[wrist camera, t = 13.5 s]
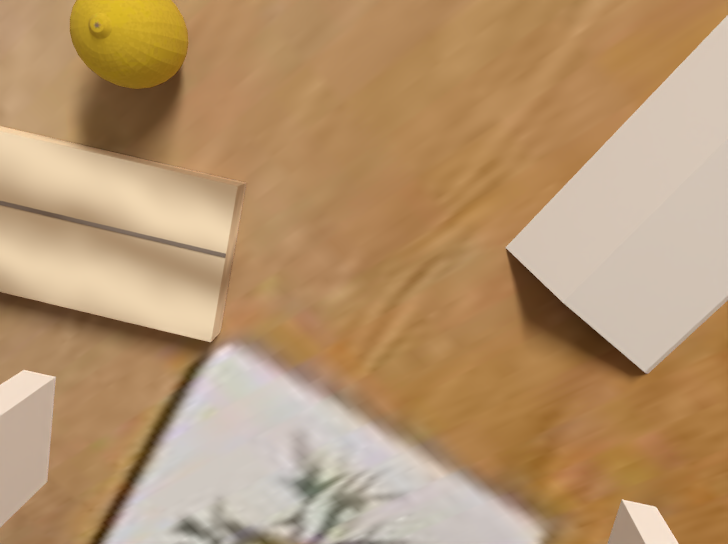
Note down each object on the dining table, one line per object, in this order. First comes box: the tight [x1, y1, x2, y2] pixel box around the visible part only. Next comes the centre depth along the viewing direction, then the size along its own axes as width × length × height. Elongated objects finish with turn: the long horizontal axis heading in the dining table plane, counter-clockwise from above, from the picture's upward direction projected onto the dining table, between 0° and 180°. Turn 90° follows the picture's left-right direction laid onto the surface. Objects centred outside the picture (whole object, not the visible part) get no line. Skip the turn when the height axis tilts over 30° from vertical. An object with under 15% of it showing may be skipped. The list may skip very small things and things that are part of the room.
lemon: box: [70, 0, 188, 89], centre depth 35 cm, size 6×6×8 cm
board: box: [0, 126, 246, 342], centre depth 41 cm, size 10×23×2 cm, turn 78°
